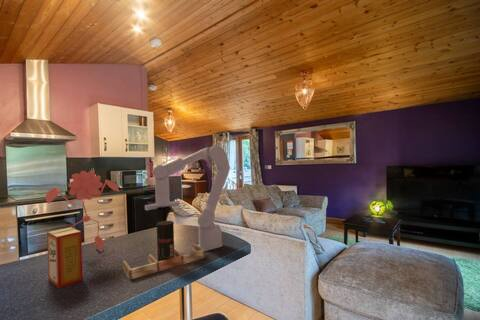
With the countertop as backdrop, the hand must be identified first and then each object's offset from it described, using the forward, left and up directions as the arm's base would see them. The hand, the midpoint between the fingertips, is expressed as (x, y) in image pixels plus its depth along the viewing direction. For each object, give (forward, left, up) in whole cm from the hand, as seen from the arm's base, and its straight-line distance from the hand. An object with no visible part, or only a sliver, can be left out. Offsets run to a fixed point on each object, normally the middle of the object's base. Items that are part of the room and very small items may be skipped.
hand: (163, 224), depth 107 cm
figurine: (+27, -13, -11) cm, 32 cm away
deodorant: (+5, +16, -11) cm, 20 cm away
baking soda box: (+35, +7, -11) cm, 37 cm away
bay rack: (+5, +15, -10) cm, 19 cm away
